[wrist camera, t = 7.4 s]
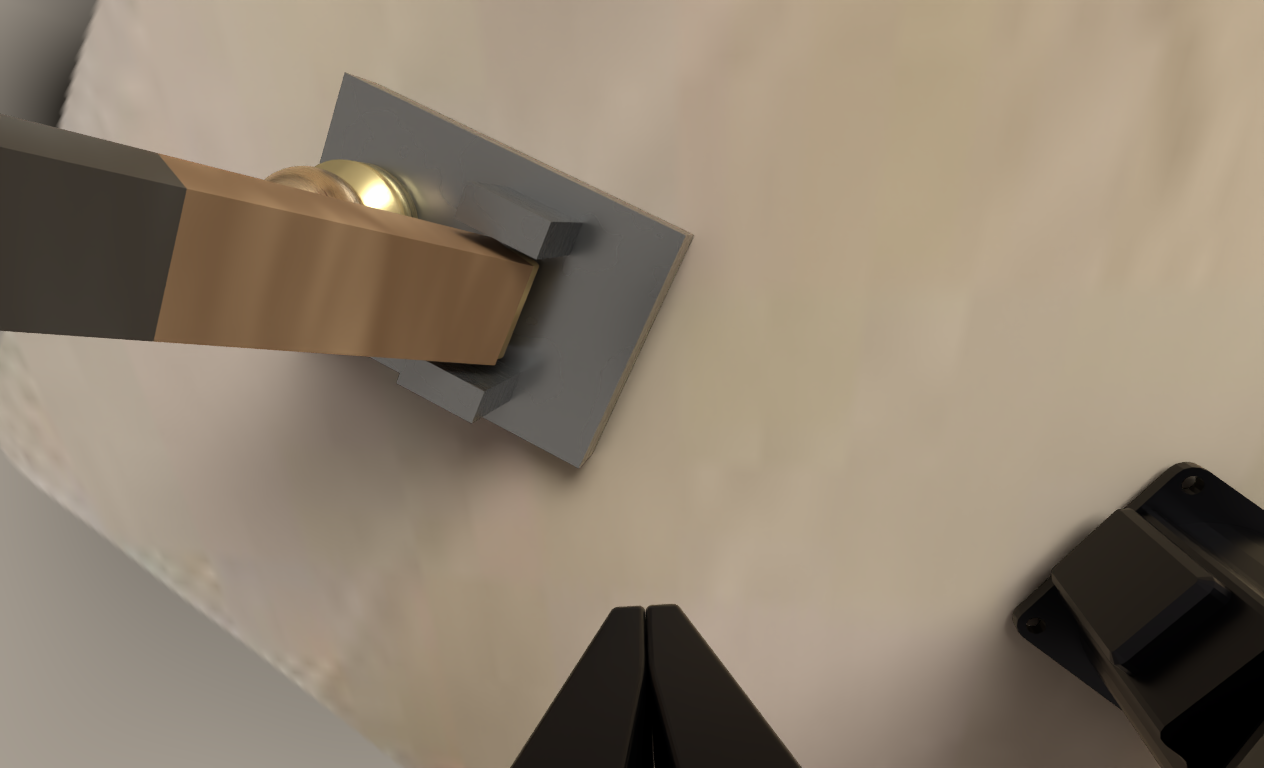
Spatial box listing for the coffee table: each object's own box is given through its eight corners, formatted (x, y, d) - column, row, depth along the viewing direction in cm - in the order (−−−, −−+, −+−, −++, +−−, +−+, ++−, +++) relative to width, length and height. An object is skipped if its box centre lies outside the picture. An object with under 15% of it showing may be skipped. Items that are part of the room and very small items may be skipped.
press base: (694, 234, 20) (657, 237, 15) (592, 453, 22) (530, 521, 17) (375, 82, 21) (238, 36, 16) (311, 304, 23) (172, 325, 18)
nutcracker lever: (555, 270, 18) (-304, 78, 8) (517, 367, 19) (-302, 309, 9) (515, 243, 20) (-285, 42, 9) (480, 334, 20) (-285, 249, 10)
